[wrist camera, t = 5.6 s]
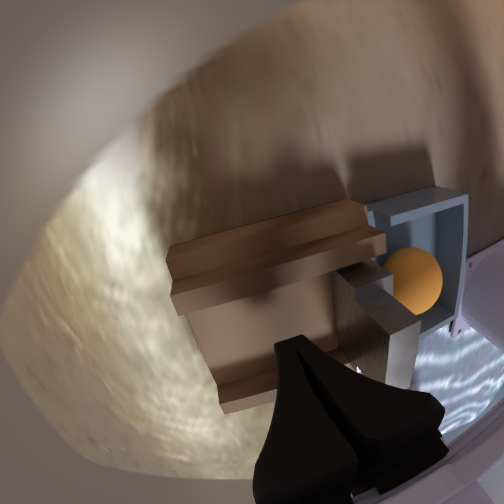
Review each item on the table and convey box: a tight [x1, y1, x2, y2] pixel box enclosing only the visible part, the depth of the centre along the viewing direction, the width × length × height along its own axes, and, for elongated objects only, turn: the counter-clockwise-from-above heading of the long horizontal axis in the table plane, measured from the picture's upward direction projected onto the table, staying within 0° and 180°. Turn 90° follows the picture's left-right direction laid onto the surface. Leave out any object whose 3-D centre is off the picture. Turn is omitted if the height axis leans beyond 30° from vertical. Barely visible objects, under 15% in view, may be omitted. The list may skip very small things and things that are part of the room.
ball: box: [382, 247, 443, 315], centre depth 15 cm, size 4×4×4 cm
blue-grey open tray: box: [364, 186, 468, 340], centre depth 16 cm, size 7×9×3 cm
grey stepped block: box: [331, 259, 421, 389], centre depth 12 cm, size 2×5×5 cm, turn 13°
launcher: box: [166, 199, 387, 414], centre depth 15 cm, size 10×10×4 cm
